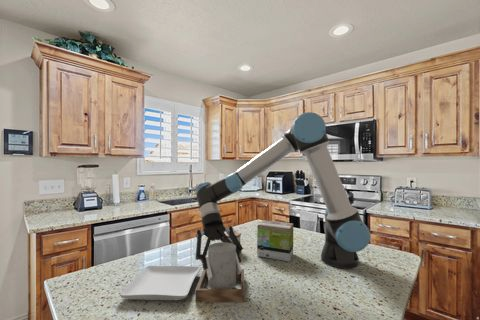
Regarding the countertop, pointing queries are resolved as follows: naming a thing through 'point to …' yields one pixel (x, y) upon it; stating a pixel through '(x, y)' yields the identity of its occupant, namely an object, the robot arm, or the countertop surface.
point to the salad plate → (161, 283)
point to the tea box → (275, 240)
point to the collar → (219, 291)
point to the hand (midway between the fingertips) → (225, 275)
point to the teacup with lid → (235, 234)
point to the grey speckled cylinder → (222, 265)
